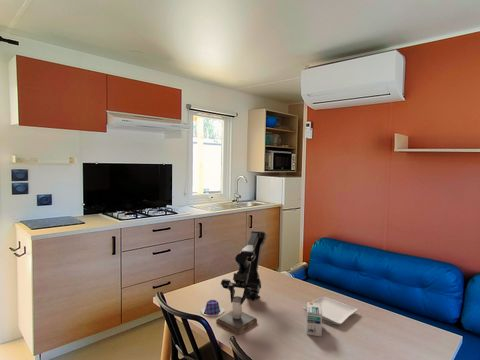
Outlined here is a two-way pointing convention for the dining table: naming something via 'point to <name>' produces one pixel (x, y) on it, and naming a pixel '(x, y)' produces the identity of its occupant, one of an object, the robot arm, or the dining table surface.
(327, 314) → the salad plate
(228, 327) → the walnut stand
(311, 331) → the light bulb box
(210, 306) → the pudding
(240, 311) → the beige grey cylinder
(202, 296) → the dining table surface
